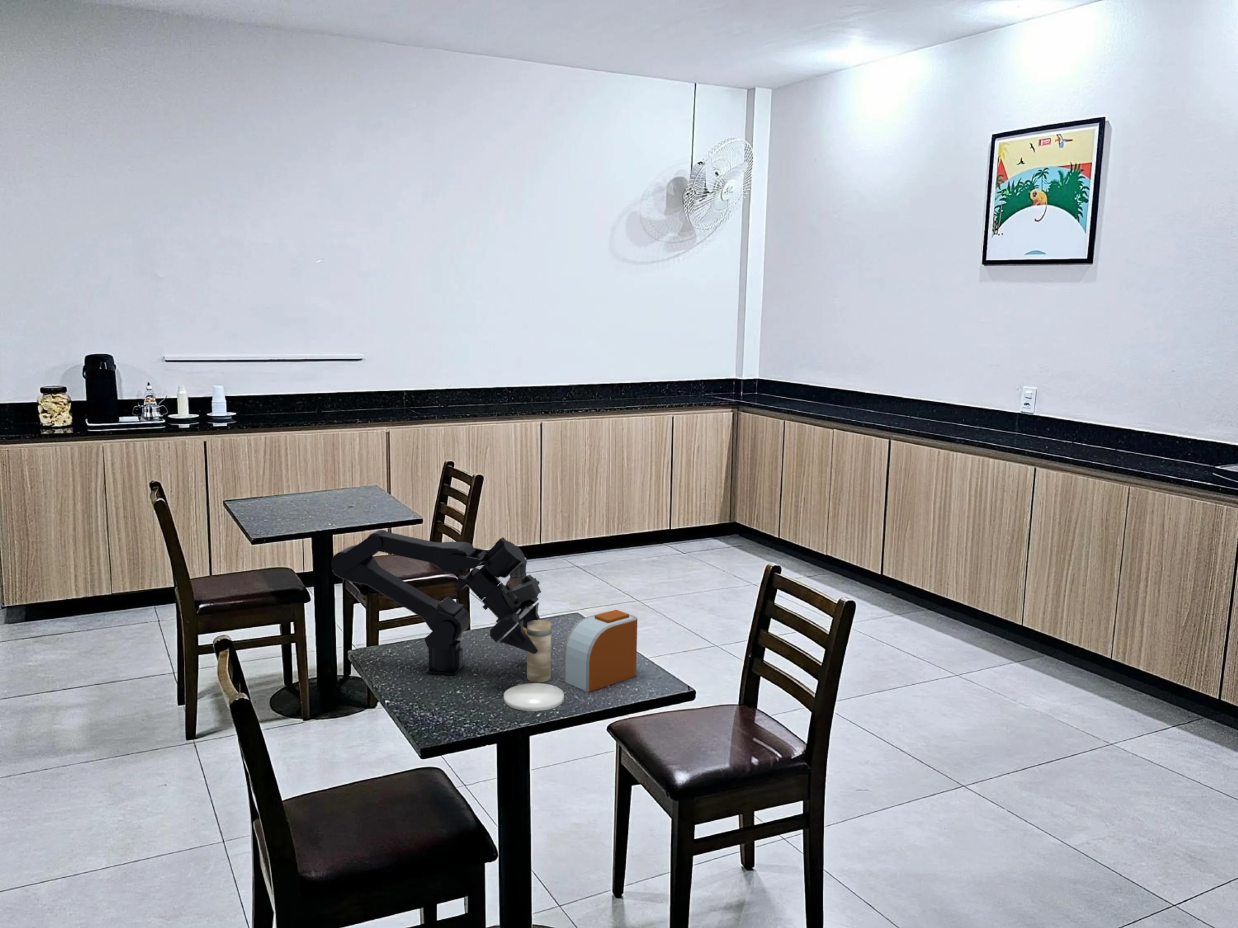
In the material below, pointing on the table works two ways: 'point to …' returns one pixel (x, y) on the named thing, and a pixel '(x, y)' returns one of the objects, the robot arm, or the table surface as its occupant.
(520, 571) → the sauce bottle
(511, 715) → the table surface
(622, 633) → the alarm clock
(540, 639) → the beech handle
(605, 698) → the table surface
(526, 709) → the ceramic plate
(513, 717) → the table surface
